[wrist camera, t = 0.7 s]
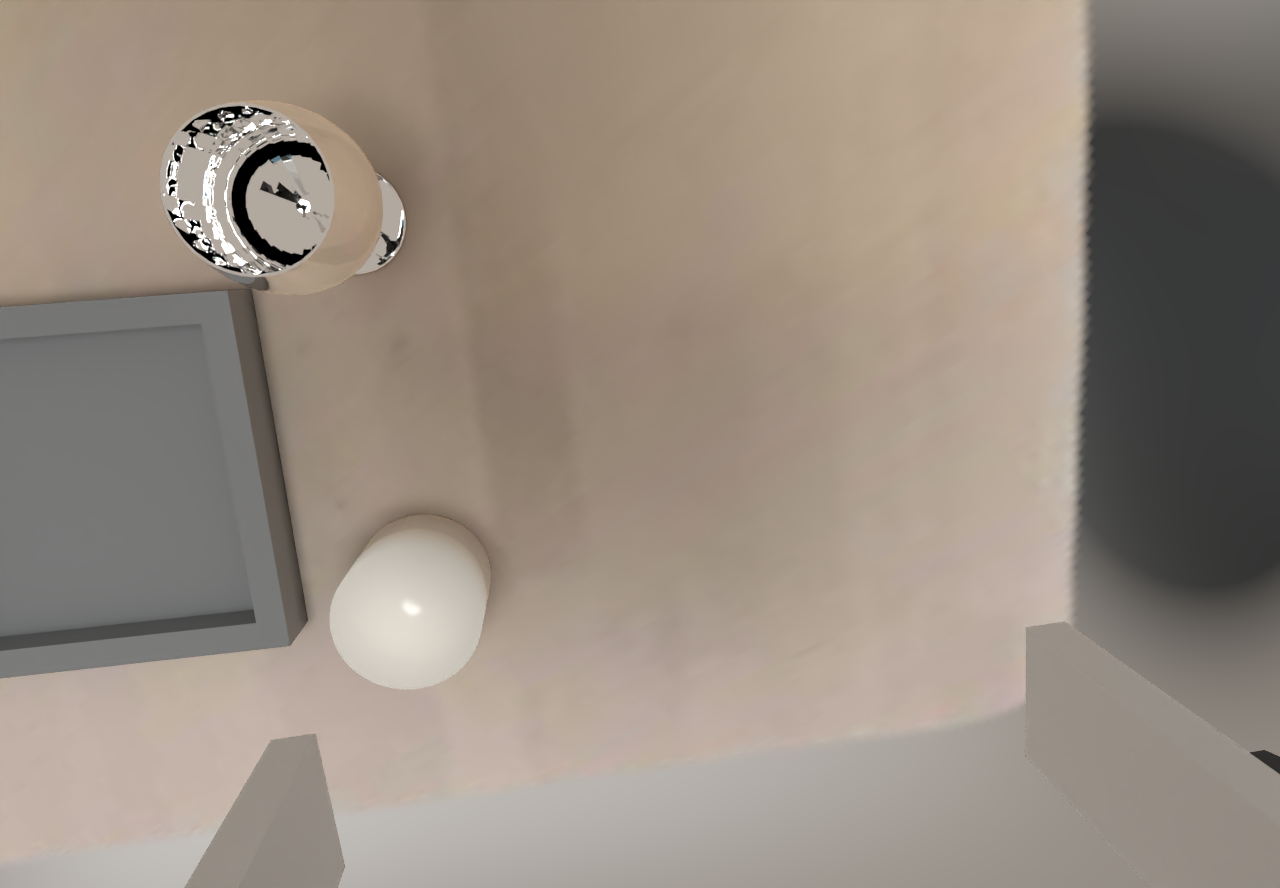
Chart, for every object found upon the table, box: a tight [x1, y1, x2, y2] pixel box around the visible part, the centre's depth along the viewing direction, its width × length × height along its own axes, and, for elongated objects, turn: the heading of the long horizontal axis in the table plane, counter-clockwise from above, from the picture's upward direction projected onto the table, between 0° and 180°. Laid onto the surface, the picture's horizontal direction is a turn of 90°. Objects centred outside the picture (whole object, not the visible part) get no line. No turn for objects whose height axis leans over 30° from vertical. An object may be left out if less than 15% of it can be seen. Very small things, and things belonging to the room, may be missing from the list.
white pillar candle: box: [329, 514, 491, 690], centre depth 35 cm, size 6×6×5 cm
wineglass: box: [159, 100, 406, 295], centre depth 28 cm, size 6×6×12 cm
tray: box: [0, 289, 308, 678], centre depth 34 cm, size 15×15×3 cm
